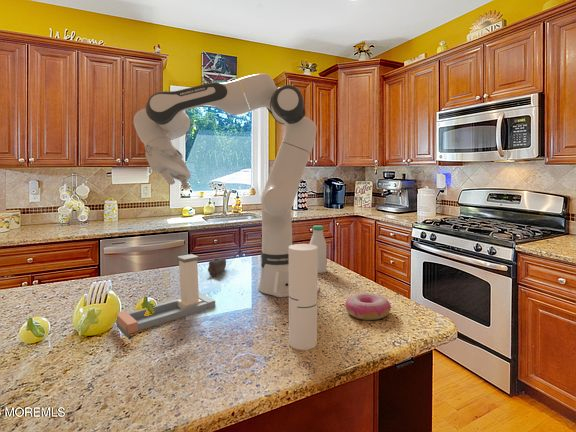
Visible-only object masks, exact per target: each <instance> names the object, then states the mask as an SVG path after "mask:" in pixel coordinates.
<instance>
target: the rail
mask: <svg viewBox="0 0 576 432" xmlns="http://www.w3.org/2000/svg"><path fill="white" fill-rule="evenodd" d="M199 299H200V300H202V303H200V304H196V305H193V306H190V307H186V308H183V309H181V308H179V307H178V300H181V297H179V298H176V299H172V300H169V301H165V302H162V303H158V304H155V305H156V306H155V307H153V308H154V309H155V313H154V314H153V315H149V316H144V314H145V312H146V310H147V309H145V310H139V309H137V310H132V311H128V312H127V311H126V310H122V311H119V314H118V315H117V316H118V317H117V320H115V322H116V328H117V329H118V330H119V331H121V333H122V334H123V335H124V336H125V337H126V338H127V339H128V340H132V339H133V337H132V336H131V335H130V334H132V333H136V332H139V331H142V330H146V329H149V328H152V327H156V326H159V325H162V324H164V323H168V322H172V321H174V320H177V319H180V318H184V317H188V316H190V315H193V314H197V313H200V312H203V311H207V310H210V309H213V308H216V300H215V299H214V298H211V297H209V296H207V295H206V294H204V293H201V292H199Z"/></svg>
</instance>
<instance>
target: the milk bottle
mask: <svg viewBox="0 0 576 432" xmlns="http://www.w3.org/2000/svg"><path fill="white" fill-rule="evenodd" d="M309 244H311V245H316V246H317V247H318V265H317V274H322V273H325V272H326V271H327V268H328V267H327V261H328V260H327V259H328V258H327V257H328V254H327V250H328V248H327V240H326V239H325V236H324V226H323V225H320V224H319V225H313V226H312V235H311V239H310V241H309Z"/></svg>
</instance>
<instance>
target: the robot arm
mask: <svg viewBox="0 0 576 432" xmlns="http://www.w3.org/2000/svg"><path fill="white" fill-rule="evenodd" d="M204 106H210V107H211V106H212V107H215V108H218V109H220V110H221V111H223V112H224V113H227V114H228V115H232V116H237V115H243V114H246V113H249V112H251V111H255V110H258V109H261V108H266V109H267V110H268V112H269V114H270V115H271V116H272V118H273V119H274V120H275V121H276V122H277V123H279V124H281V125H284V126H285V132H284V135H283V138H282V141H281V143H280V146H279V148H278V151H277V154H276V157H275V159H274V162H273V165H272V166H271V167H272V168H271V169H270V172H269V175H268V178H267V180H266V183H265V186H264V189H263V191H262V194H261V197H260V198H261V199H260V201H261V249H262V250H261V252H260V266H261V274H260V280H259V285H258V288H257V289H258V291H259V292H261V293H263V294H265V295H271V296H273V297H276V298H286V297H287V298H288V297H289V246H290V245H293V225H292V223H293V222H292V220H293V219H292V207H293V205H294V202H295V200H296V196H297V193H298V190H299V187H300V184H301V181H302V177H303V175H304V172H305V169H306V166H307V164H308V161H309V159H310V156H311V154H312V150H313V147H314V145H315V140H316V137H317V124H316V123H315V122H314V121H313V120H312V119H311V118H309V117H307V116H305V115H306V107H305V101H304V96H303V94H302V92H301V91H300V89H299V88H297V87H296V86H295V85H291V84H284V85H282V86H279V87H278V86H276V82H275V81H274V79H273V78H272V76H271V75H270V74H268V73H257V74H252V75H246V76H244V77H240V78H238V79H235V80H232V81H226V82H209V83H205V84H200V85H196V86H191V87H188V88H183V89H178V90H174V91H168V90H165V91H158V92H155V93H153V94H152V95H151V96H150V97H149V98H148V100H147V102H146V105H145V108H142V109H140V110H138V111H137V112H136V113H135V114H134V117H133V126H134V128H135V132H136V134H137V136H138V138H139V140H140V141H141V142H142V144H143V145H144V149H145V158H146V161H147V163H148V165H149V167H150V169H151V170H152V171H153V172H155V173H158V174H161V176H162V177H163V179H165V180H166V182H167V184H168V185H170V186H173V185H174V184H176V180H177V181H180V183H181V187H182V189H183V190H188V189H190V185H189V183H188V180H189V179H191V172H190V170H189V168H188V166H187V164H186V161H184V156H183V154H182V153H181V152H180V151H179V150H178V149H177V147H175V145H174V144H173V143H172V141H173V140H175V139H178V138H180V137H182V136H184V135H186V134H187V133H188V132H189V131H190V129H191V125H192V124H191V123H192V122H191V119H190V117H189V115H188V114H187V113H186V112H185V111H188V110H192V109H195V108H201V107H204ZM319 291H320V287H319V284H318V283H317V293H318V292H319Z"/></svg>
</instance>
